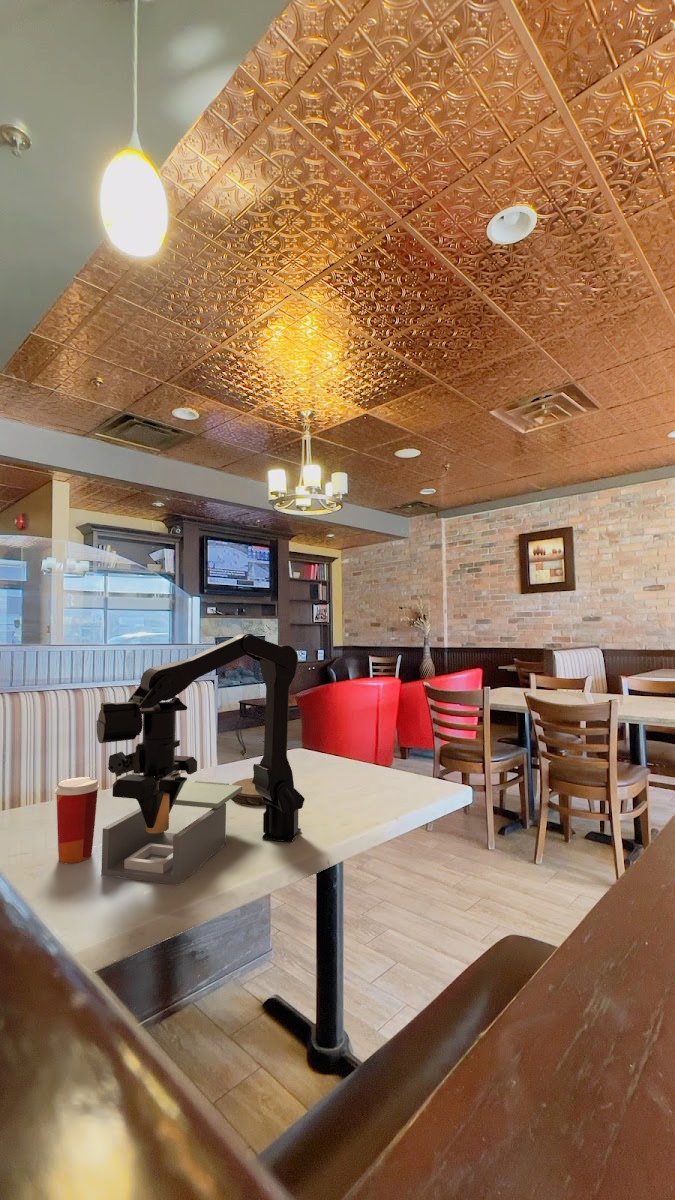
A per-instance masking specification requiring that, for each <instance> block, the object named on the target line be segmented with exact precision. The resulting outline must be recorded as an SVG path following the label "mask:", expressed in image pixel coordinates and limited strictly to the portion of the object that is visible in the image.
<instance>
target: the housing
mask: <svg viewBox="0 0 675 1200" xmlns="http://www.w3.org/2000/svg"><path fill="white" fill-rule="evenodd" d="M226 815H227V802H226V803H224V804H223V805H222V806H220V807H219V808H217V809H215V808H210V810H208V811H206V812H205V813H204V814H202V815H201V816H200V817H198V818H196V820H194V821H192V822H191V823H189V824H188V825H187V826H185V827H184V828H183V829H181V830H180V831H179V832H177V833H174V832H173V833H172V832H167V831H164V832H161V833H148V832H146V822H145V819H144V817H143V814H142V811H141V808H140V807H139V808H138V809H136V810H134V811H132V812H130V813H128V814H126V815H124V816H122V817H121V818H119V819H117V820H115V821H113V822H112V823H110V824H108V825H106V826H104V827H103V828H102V841H101V868H100V869H101V873H100V876H107V877H114V878H123V879H129V880H137V881H145V882H151V883H160V884H167V885H175V886H180V885H181V884H182V883H183V882H185V880H186V879H187V878H188V877H189V878H190V876H191V875H192V874H193V873H194V872H195V871H197V869H199V868H200V867H201V866H203V864H205V862H207V860H209V859H210V858H211V857H212V856H213V855H215V854H216V853H217V852H218V851H219V850H220V849H221V848H223V847H224V846H225V845H226V837H227V836H226V835H227V834H226V831H227V829H226V826H227V824H226V822H227V816H226Z"/></svg>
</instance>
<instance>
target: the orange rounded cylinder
mask: <svg viewBox="0 0 675 1200" xmlns="http://www.w3.org/2000/svg"><path fill="white" fill-rule="evenodd" d="M169 829H170V813H169V793H166V792H164V795H163V798H162V801H161V805H160V808H159V812H158V815H157V819H156V822H155V825H154V827H153V828H147V825H146V832H148V833H161V832H167V831H168V830H169Z"/></svg>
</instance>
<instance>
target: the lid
mask: <svg viewBox="0 0 675 1200" xmlns="http://www.w3.org/2000/svg"><path fill="white" fill-rule="evenodd" d="M241 791H242V786H236V785H232V784H230V783H225V782H214V781H212V782H211V781H201V780H196V781H185V783H184V785H183V787H182V789H181V790H180V792H179V794H178V796H177V798H176V800H175V803H174V805H175V806H185V807H195V808H196V807H197V808H205V809H207V808H208V809H213V808H215V809H217V808H219V807H220V806H222V805H223V804H224V803H226V804H227V802H229V801H230V800H231V798H233V797H234V796H236V795H237V794H238V793H240V792H241ZM174 805H173V806H174Z"/></svg>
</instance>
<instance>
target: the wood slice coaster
mask: <svg viewBox="0 0 675 1200" xmlns="http://www.w3.org/2000/svg"><path fill="white" fill-rule="evenodd" d="M252 781H253V777H250V778H249V777H248V778H244V779H240V780H237V781H235V782H233V783H232V784H231V785H236V786H242V791H241V792H240V793H238V794H237V795H236V796H234V797H233V798H231V799H230V800H231V802H234V803H236V804H239V805H242V806H249V807H266V805H268V803H266V802H263V800H262V797H261V795H260V794H259V793H258V792H257V791H256V789H255V784H253V783H252Z"/></svg>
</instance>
